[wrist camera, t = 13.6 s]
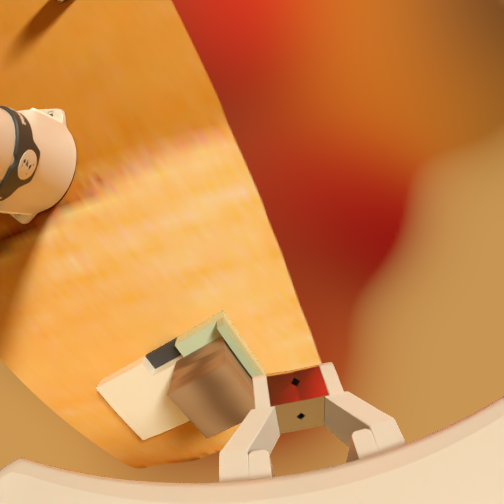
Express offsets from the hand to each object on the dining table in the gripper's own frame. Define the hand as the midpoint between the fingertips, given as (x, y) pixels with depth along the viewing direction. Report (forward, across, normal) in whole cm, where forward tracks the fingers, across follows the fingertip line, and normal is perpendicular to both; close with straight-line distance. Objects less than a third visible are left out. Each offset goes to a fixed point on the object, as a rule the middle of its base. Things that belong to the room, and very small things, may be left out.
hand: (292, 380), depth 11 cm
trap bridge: (+26, +15, +24) cm, 38 cm away
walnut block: (+24, +8, +21) cm, 33 cm away
